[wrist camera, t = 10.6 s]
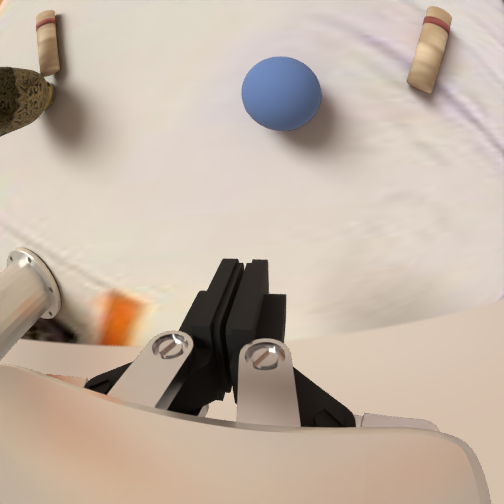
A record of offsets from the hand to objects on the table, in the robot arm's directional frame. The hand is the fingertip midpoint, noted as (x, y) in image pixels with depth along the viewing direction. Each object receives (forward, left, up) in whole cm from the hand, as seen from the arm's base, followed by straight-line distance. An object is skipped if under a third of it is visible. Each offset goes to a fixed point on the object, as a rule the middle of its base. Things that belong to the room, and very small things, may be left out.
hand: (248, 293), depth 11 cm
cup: (-26, +13, -17) cm, 34 cm away
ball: (+1, +8, -14) cm, 16 cm away
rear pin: (-24, +16, -16) cm, 33 cm away
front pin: (+13, +10, -16) cm, 23 cm away
